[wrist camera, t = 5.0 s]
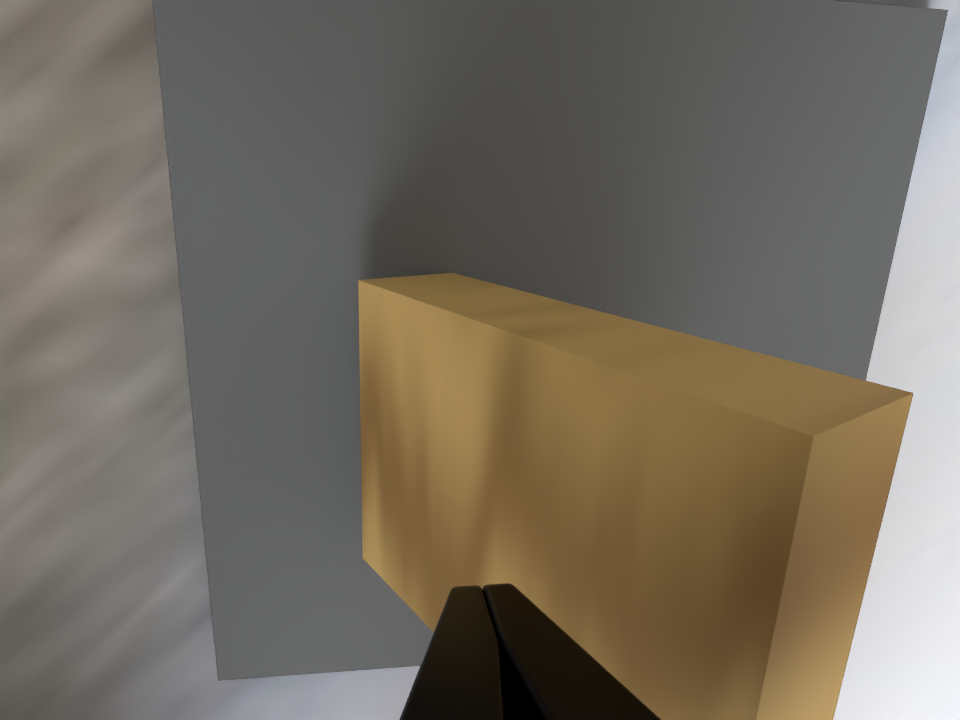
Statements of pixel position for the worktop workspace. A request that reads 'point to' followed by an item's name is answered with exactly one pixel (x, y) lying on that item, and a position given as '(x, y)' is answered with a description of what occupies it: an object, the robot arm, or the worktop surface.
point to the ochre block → (625, 489)
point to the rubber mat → (496, 229)
